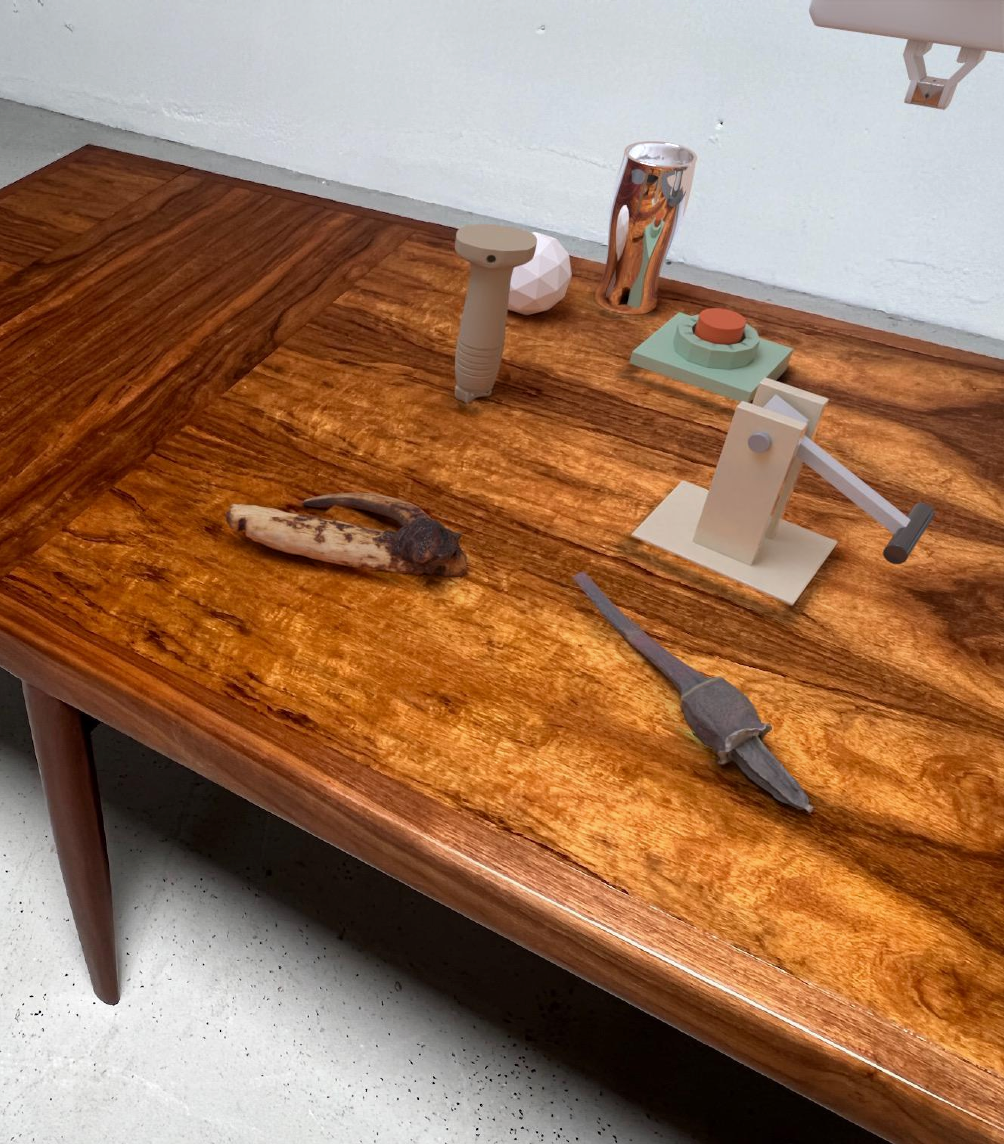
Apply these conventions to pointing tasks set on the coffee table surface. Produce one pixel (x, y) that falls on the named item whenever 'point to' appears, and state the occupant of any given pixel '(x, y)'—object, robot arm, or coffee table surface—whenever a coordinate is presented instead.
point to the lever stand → (749, 502)
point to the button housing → (712, 359)
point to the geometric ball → (540, 278)
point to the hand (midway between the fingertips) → (926, 104)
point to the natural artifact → (710, 708)
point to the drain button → (720, 326)
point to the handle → (486, 302)
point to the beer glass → (644, 223)
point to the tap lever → (862, 493)
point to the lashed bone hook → (357, 535)
